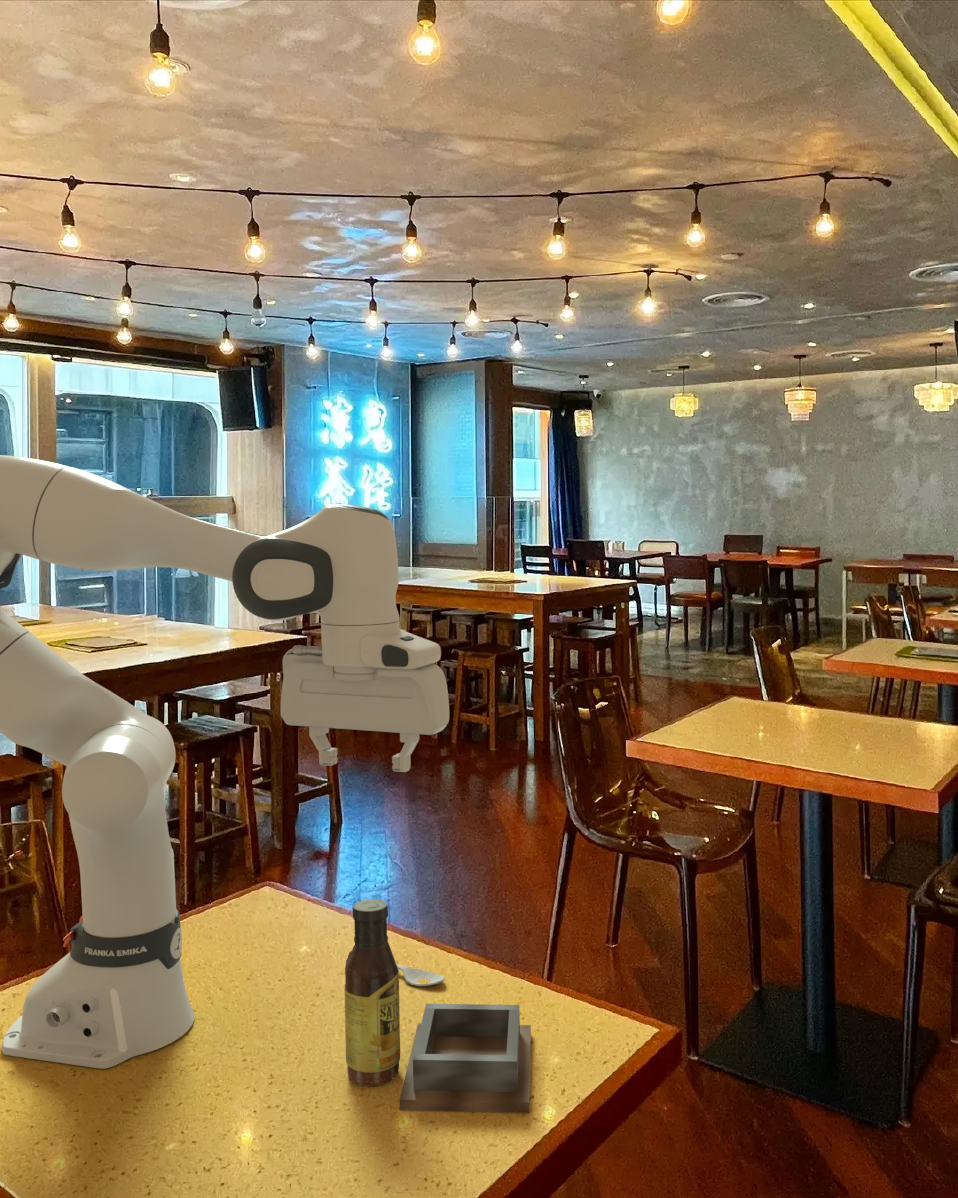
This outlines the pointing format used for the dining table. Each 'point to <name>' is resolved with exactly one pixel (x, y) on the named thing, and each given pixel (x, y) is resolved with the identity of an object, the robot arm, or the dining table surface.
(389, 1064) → the sauce bottle
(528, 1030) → the box
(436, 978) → the spoon
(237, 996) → the dining table surface
